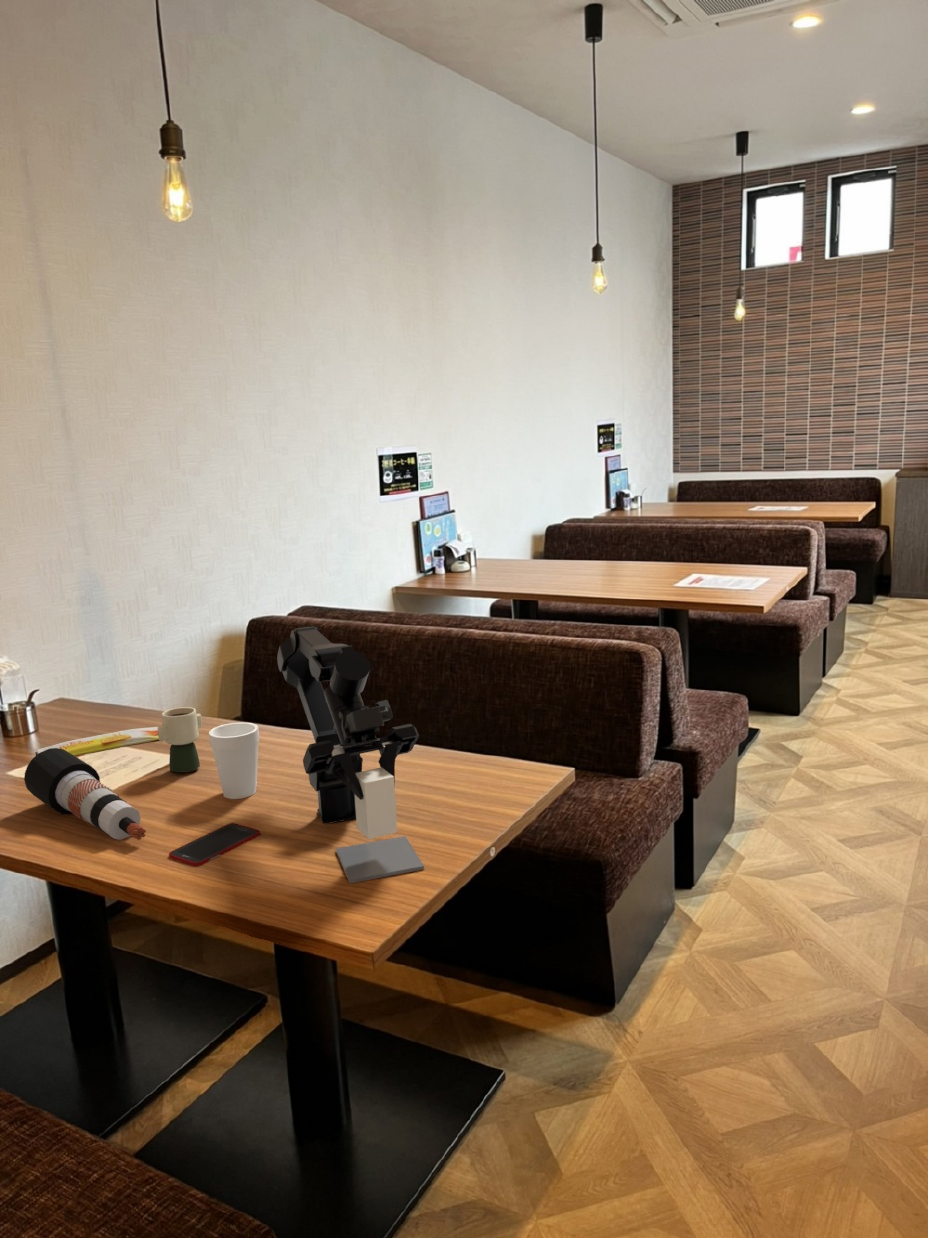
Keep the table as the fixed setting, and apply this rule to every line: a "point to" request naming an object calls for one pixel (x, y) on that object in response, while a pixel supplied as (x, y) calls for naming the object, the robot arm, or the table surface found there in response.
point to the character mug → (181, 737)
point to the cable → (80, 793)
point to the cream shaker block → (376, 804)
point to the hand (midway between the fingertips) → (377, 794)
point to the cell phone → (214, 844)
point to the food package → (107, 741)
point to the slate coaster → (378, 859)
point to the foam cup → (236, 758)
